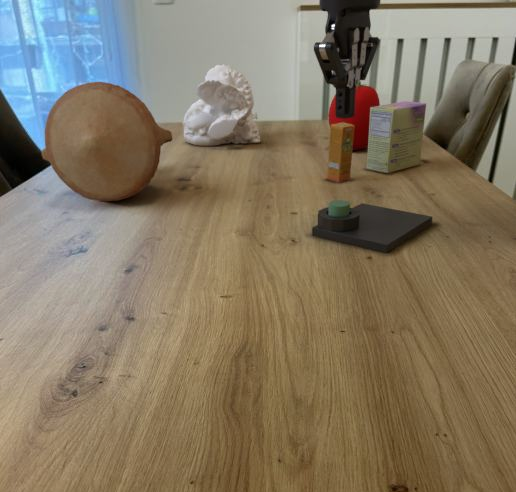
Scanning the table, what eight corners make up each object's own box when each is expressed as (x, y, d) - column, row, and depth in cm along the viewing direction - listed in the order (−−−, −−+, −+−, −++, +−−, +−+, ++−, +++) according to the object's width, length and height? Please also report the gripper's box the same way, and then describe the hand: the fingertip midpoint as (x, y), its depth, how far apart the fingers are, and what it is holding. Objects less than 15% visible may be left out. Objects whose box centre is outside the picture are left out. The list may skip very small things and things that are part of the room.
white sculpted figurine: (171, 98, 143) (233, 51, 135) (217, 164, 152) (277, 123, 144) (151, 114, 128) (219, 62, 120) (203, 186, 136) (269, 142, 128)
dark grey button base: (358, 209, 89) (360, 191, 88) (431, 224, 82) (434, 204, 81) (309, 234, 80) (309, 214, 78) (386, 253, 73) (388, 231, 72)
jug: (4, 141, 85) (53, 130, 112) (94, 234, 92) (120, 203, 119) (95, 50, 81) (123, 61, 108) (183, 154, 88) (189, 140, 115)
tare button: (335, 210, 81) (336, 198, 80) (353, 214, 79) (353, 202, 78) (324, 216, 79) (324, 204, 78) (342, 219, 77) (342, 207, 76)
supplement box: (339, 183, 103) (342, 126, 98) (326, 179, 105) (328, 124, 100) (351, 179, 105) (355, 123, 100) (338, 176, 107) (341, 121, 102)
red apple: (365, 156, 121) (370, 85, 114) (318, 151, 126) (320, 83, 119) (385, 145, 130) (391, 79, 123) (341, 141, 135) (344, 77, 128)
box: (397, 160, 117) (403, 100, 111) (420, 165, 113) (427, 102, 107) (365, 169, 111) (369, 106, 105) (387, 174, 107) (393, 109, 101)
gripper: (350, -40, 60) (343, 127, 69) (404, -37, 69) (392, 112, 78) (294, -35, 64) (294, 123, 73) (351, -32, 73) (345, 108, 82)
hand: (344, 117), depth 75 cm, fingers closed
